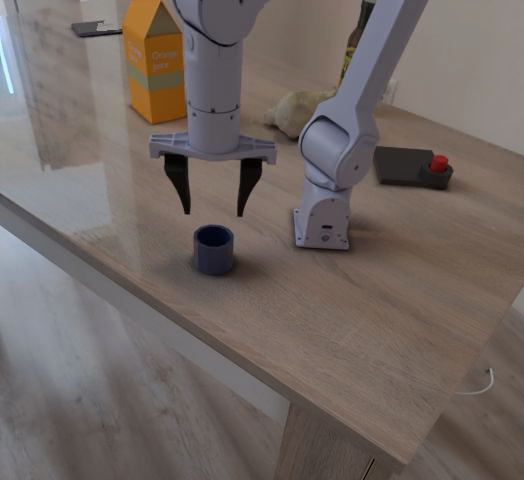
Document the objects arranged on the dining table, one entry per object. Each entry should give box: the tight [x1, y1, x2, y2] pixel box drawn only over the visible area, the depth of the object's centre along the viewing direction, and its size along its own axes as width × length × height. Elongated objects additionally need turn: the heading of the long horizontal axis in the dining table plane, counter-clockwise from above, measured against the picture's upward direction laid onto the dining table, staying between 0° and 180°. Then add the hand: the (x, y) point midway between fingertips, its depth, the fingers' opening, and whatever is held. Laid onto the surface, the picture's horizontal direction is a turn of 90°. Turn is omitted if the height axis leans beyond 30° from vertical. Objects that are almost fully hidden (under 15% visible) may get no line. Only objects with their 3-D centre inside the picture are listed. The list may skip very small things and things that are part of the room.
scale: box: [372, 145, 455, 190], centre depth 88 cm, size 13×13×3 cm
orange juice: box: [122, 0, 187, 125], centre depth 89 cm, size 8×9×20 cm
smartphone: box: [70, 19, 123, 37], centre depth 123 cm, size 8×1×15 cm
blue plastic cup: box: [192, 223, 235, 276], centre depth 66 cm, size 5×5×4 cm
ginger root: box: [263, 86, 339, 139], centre depth 93 cm, size 15×7×15 cm
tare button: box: [430, 154, 450, 172], centre depth 84 cm, size 3×3×2 cm
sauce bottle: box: [336, 0, 377, 89], centre depth 97 cm, size 6×6×20 cm
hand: (213, 211), depth 61 cm, fingers open, 6 cm apart
